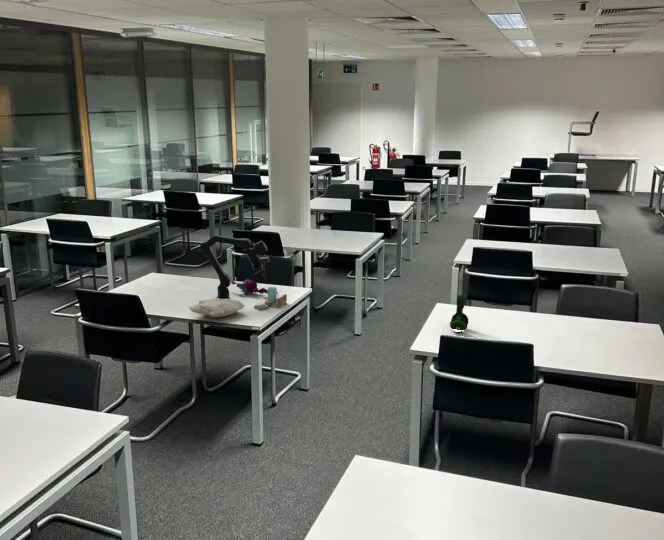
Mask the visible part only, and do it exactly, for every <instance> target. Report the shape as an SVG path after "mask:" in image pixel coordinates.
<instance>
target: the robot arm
mask: <svg viewBox="0 0 664 540" xmlns="http://www.w3.org/2000/svg"><path fill="white" fill-rule="evenodd" d="M216 243H222V244H227V245H232V246H236V247H238V248H240V249H243V250H242V255H246V256H247V258H248V260H249V263H251V265H252V273H253V275H255V276H257V277H258V278H259V279H261V280H262V281H263V282H265V281H266V277H267V274H266V270H265V264H268V263H270V257H269V256H268V255H267V254H264V255H263V256H262V257H260V256H259V255H258V254H262V253H264V252H266V251H268V246H267V245H266V243H265V242H264V240H259V242H257V243H255V242H253V241H251V240H250V238H247V237H246V238H245V237H242V238H241V237H240V238H237V237H236V238H235V237H230V236H225V235H219V234H214V235H213V236H212V237H211V238H209V239H208V240H203V241H202V242H201V243H200V245H199V249H200V251H201V252H202V254H203V255H205V256H206V257H207V258H208V260H209V263H210V264H211V265H212V267H213V269H214V271H215V272H216V274H217V276H218V280H219V284H218V286H217V296H216V299H218V298H219V299H229V298H230V290H229V287H230V286H231V285H232V284H231V280H232V277H231V276H230V274H229V272H227V273H226V272H225V271H224V269H223V268H222V266H221V264H220V262H219V261H218V259H217V257H216V255H215V254H214V251H213V245H215V244H216Z"/></svg>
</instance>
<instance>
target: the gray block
mask: <svg viewBox="0 0 664 540" xmlns="http://www.w3.org/2000/svg"><path fill="white" fill-rule="evenodd" d="M253 307H255V308H254V309H256V308H257V309H256V310H258V309H259V310H258V311H263V310H262V309H265V310H268V309H267V308H269V307H270V306H266V305H265V303H263V304H257V305H254V306H253ZM269 309H270V308H269Z"/></svg>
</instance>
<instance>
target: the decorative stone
mask: <svg viewBox="0 0 664 540" xmlns="http://www.w3.org/2000/svg"><path fill="white" fill-rule="evenodd" d="M244 307H245V305H244V303H242V302H241V301H240V300H238V299H236V300H235V299H231V298H230V299H218V298H210V299H205V300H199V301H198V304H195V305H193V306H189V308H188V309H189V310H190V311H191V312H192V313H195V314H200V315H205V316H208V317H210V318H213V319H214V318H215V319H217V318H223V317H227V316H230V315H232V314H235V313H236V312H238V311H240V310H242V309H244Z"/></svg>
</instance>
